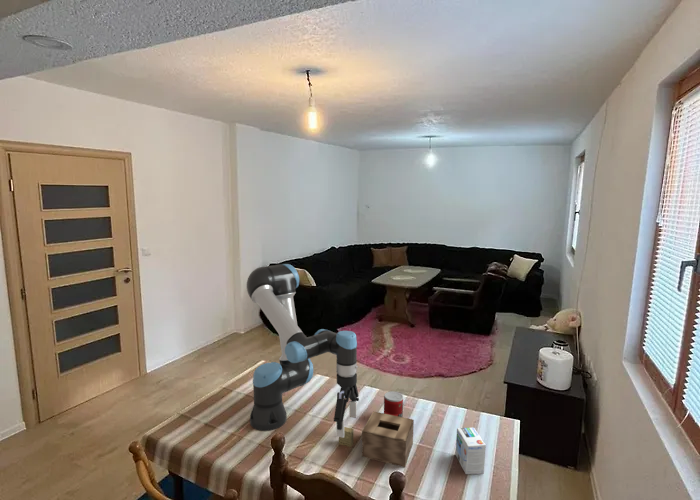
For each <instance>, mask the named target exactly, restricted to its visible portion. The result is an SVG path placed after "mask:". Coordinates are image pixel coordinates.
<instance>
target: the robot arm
mask: <svg viewBox="0 0 700 500" xmlns="http://www.w3.org/2000/svg"><path fill="white" fill-rule="evenodd" d="M299 285H300V275H299V273H298V271H297V269H296V268H295V267H294V266H293V265H291V264H290V263H279V264H275V265H268V266H267V265H265V266H259V267H257V268H255V269H254V270H252V271H251V273H250V274H249V275H248V277H247V280H246V291H247V294H248V296H249V297H250V300H251V301H252V302H253V303H255V304H257V305H258V306H259V308H260V310H261V311H262V312H263V314H264V316H265V317H266V318H267V320H269V322H270V324H271V325H272V326H273V328H274V329H275V331H276V332H277V333H278V337H279V344H280V350H281V355H280V357H279V358H278V359H279V362H275V361H271V362H266V363H262V364H260V365H259V366H258V367H256V368H255V370H254V371H253V377H252V384H253V388H252V389H253V390H252V391H253V406H252V408H251V409H252V410H251V413H250V415H249V425H250V426H251V427H252V428H253V429H255V430H257V431H272V430H276V429H279V428H280V427H282V426H283V425H284V424H285V423H287V422H286V421H287V420H288V418H287V414H288V413H287V411H286V408H285V405H284V402H283V394H284V393H286V392H289V391H291V390H295V389H296V388H300V387H302V386H304V385H306V384H308V383H310V382H311V380H312V379H313V376H314V364H313V362H312V360H311V358H314V357H318V356H320V355H323V354H326V353H330V354H333V355H336V365H335V366H336V368H335V369H336V384H337V385H338V386H339V387H340V390H339V391H338V392H337V393H336V402H335V411H334V417H333V422H334V423H336V437H338V438H339V437H342V438H344V427H345V419H344V417H345V413H346V408H347V404H348V403H349V405H348V408H349V412H348V413H349V418H353V419H357V416H358V414H357V410H358V409H357V402H359V401H360V398H359V392H358V386H357V383H358V378H357V377H358V375H357V370H358V368H359V366H358V364H357V362H358V360H357V356H358V355H357V354H358V351H357V349H358V342H357V335H356V333H355V331H352V330H342V331H341V330H340V331H338V332H335V331H334V332H333V331H331V330H328V329H324V328H321V329H318V330H317V331H316V332H315V333H314V334H313V335H311V336H308V337H307V335H305V333H304V332H303V331H302V329H301V328H300V327H299V326H298V321H297V315H296V308H295V301H294V296H295V294H296V293H297V292H296V290H297V288H298V287H299Z"/></svg>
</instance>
